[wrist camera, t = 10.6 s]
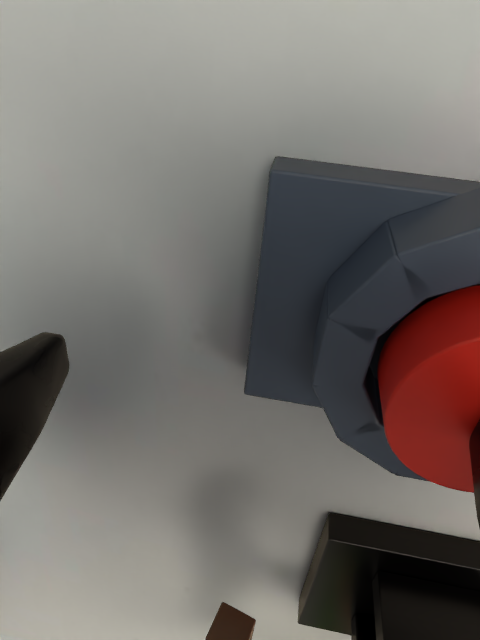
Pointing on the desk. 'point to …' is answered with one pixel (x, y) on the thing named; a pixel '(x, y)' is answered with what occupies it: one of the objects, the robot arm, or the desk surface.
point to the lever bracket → (392, 583)
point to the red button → (434, 387)
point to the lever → (231, 625)
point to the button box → (352, 284)
